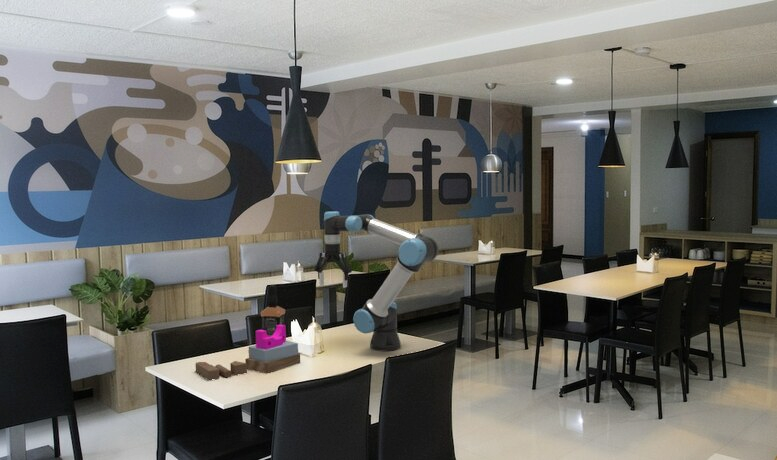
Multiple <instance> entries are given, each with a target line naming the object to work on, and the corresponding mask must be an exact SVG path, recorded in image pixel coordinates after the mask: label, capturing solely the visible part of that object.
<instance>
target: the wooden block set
mask: <svg viewBox="0 0 777 460" xmlns="http://www.w3.org/2000/svg"><path fill="white" fill-rule="evenodd" d="M229 366H230V369H228V368H227V367H225V366H223V365H222V364H220V363H219V364H216V365H212V364H210V363H208V362H206V361H198V362H197V361H196V362H195V372H196V373H198V374H200V375H201V377H202V376H203V377H202V378H204V377H205V378H204V379H206V378H207V379H208V380H207V379H206V380H207V381H209V380H210V381H213V380H212V379H215V380H218V379H217V378H219V379H220V375H221V376H223V377H224V378H226V377H229V378H230V377H232V375H233V374H234V375H233V376H235V375H236V376H239V375H238V374H241V375H245V374H244V373H246V374H248V369H247V363H245V362H241V361H237V360H235V361H232V362H230V365H229Z"/></svg>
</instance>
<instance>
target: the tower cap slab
mask: <svg viewBox="0 0 777 460" xmlns="http://www.w3.org/2000/svg"><path fill="white" fill-rule="evenodd" d="M298 353H299V343H298V342H296V341H295V342H294V341H291V340H290V341H289V340H286V342H284V343H283V345H280V346H277V347H273V348H270V349H267V350H266V349H260V348H256V344H255V345H250V346H248V358H251V359H255V360H258V361H262V362H269V361H273V360H277V359H281V358H285V357H289V356H293V355H297V354H298Z"/></svg>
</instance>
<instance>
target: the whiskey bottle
mask: <svg viewBox="0 0 777 460" xmlns="http://www.w3.org/2000/svg"><path fill="white" fill-rule="evenodd" d="M267 290H268V298H267V304H268V306H267V307H265V308H264V309H263V310H261V311H260V316H261V330H265V331H266V332H267V335H268V337H271V336H272V335H273V334H274V332H275V330H276V325H286V323H285V321H286V320H285V314H286V309H285V308H283V307H281V306H279V305H278V301H279V300H278V296H277V286H276V285H273V284H272V285H268V289H267Z"/></svg>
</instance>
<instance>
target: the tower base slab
mask: <svg viewBox="0 0 777 460" xmlns="http://www.w3.org/2000/svg"><path fill="white" fill-rule="evenodd" d="M244 363H247V370H249V369H250V370H249V371H253V370H254V372H258V371H259V373H263V374H267V373H269V374H272V373H275V372H278V371H281V370H283V369H286V368H289V367H292V366H295V365H298V364H301V353H299V352H298V354H297V355H293V356H289V357H285V358H281V359H277V360H273V361H269V362H262V361H258V360H255V359H251V358H249V357H247V358H245V362H244ZM271 372H272V373H271Z"/></svg>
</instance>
